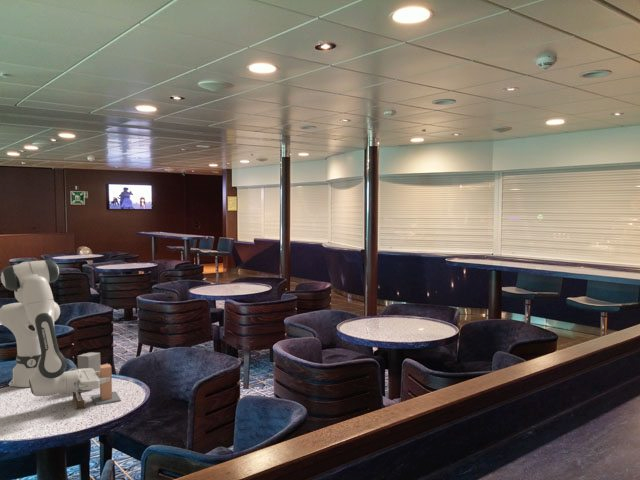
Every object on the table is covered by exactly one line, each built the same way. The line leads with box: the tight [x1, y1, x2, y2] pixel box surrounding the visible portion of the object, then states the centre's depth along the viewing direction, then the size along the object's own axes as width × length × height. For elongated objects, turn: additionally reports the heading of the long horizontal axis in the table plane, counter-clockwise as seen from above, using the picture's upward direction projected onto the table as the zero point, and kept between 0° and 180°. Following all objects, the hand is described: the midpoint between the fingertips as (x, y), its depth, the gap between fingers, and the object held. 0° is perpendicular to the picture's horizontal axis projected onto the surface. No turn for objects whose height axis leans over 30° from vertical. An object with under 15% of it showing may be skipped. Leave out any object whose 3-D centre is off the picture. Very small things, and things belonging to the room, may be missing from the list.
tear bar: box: [72, 390, 86, 410], centre depth 221 cm, size 14×3×3 cm, turn 31°
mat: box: [91, 391, 121, 406], centre depth 227 cm, size 12×10×1 cm
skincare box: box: [76, 351, 102, 391], centre depth 241 cm, size 8×7×16 cm
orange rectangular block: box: [99, 363, 113, 400], centre depth 226 cm, size 5×4×14 cm
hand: (107, 375), depth 227 cm, fingers open, 8 cm apart
